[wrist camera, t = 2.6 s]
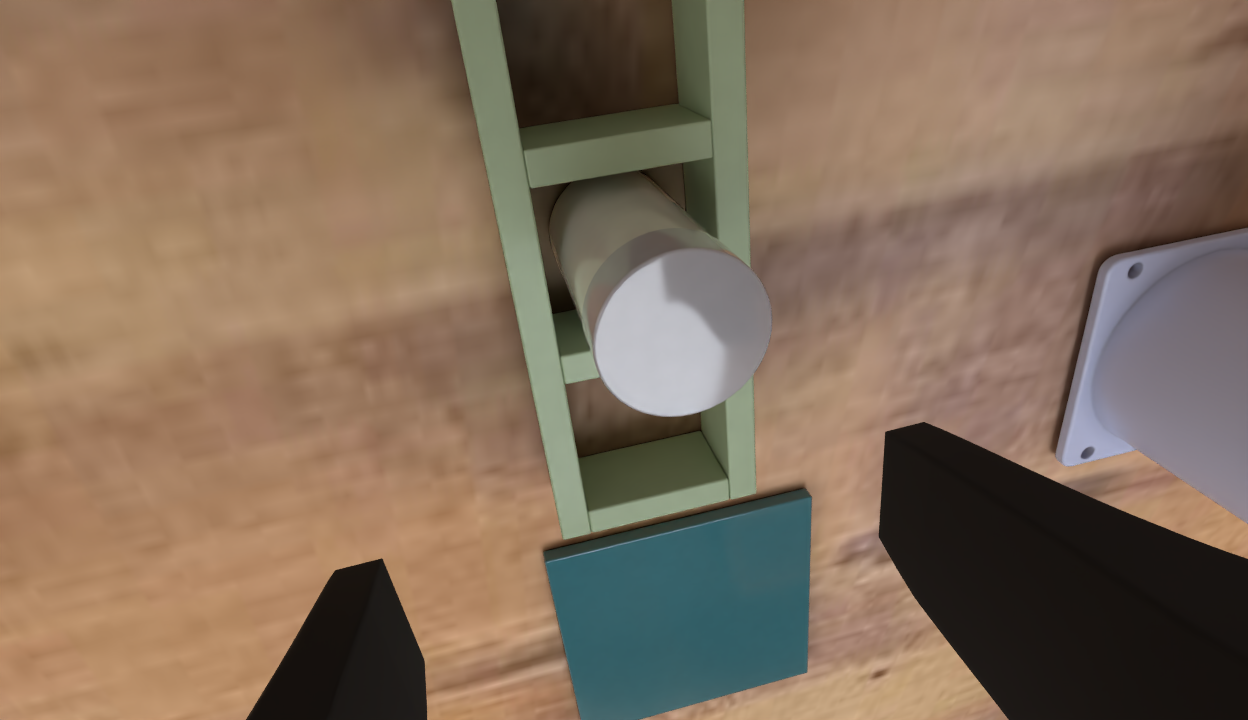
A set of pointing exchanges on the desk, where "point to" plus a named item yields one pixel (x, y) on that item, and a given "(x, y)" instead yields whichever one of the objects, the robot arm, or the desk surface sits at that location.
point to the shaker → (657, 296)
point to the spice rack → (555, 343)
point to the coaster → (685, 607)
